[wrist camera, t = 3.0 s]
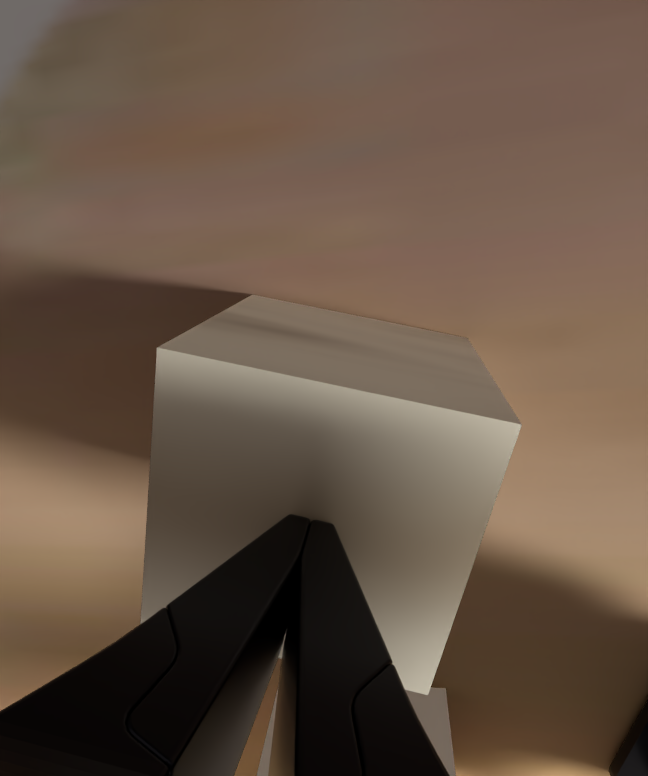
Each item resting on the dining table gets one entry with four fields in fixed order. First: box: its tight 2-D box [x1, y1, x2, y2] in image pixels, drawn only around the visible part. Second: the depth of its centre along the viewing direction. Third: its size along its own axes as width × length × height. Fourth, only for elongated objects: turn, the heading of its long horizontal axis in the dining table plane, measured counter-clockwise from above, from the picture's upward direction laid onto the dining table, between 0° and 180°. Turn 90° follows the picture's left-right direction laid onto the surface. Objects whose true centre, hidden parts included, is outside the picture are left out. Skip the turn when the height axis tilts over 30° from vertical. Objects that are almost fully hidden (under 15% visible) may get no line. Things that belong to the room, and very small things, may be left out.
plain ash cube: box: [140, 295, 522, 695], centre depth 12 cm, size 6×6×6 cm
